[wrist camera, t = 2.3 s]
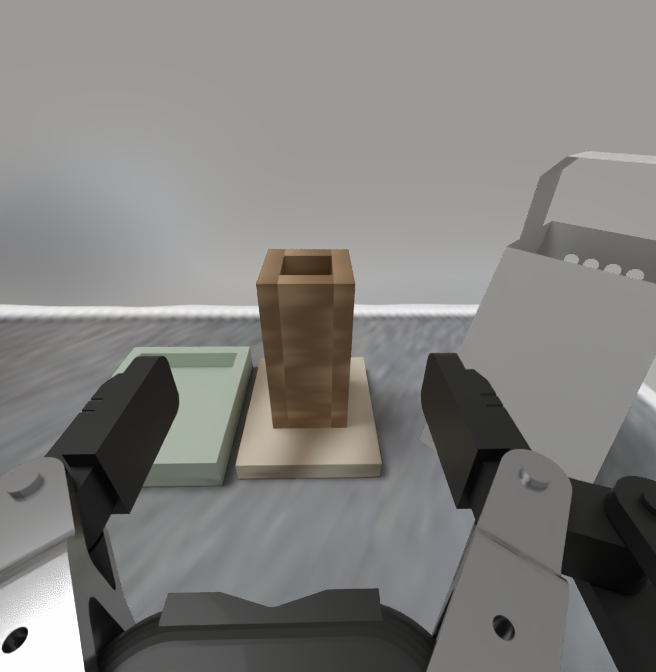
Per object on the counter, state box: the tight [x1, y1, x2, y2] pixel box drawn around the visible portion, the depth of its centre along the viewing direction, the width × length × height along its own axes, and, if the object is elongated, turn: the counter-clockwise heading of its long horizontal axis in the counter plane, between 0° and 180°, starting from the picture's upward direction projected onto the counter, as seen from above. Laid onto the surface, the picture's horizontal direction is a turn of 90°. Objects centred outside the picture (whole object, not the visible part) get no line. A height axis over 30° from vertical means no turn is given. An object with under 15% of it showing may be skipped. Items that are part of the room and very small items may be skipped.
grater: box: [419, 151, 656, 484], centre depth 22 cm, size 10×10×20 cm
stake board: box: [235, 357, 382, 479], centre depth 27 cm, size 10×12×8 cm
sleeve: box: [256, 249, 355, 429], centre depth 25 cm, size 6×6×12 cm
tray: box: [111, 347, 253, 487], centre depth 28 cm, size 11×13×2 cm
